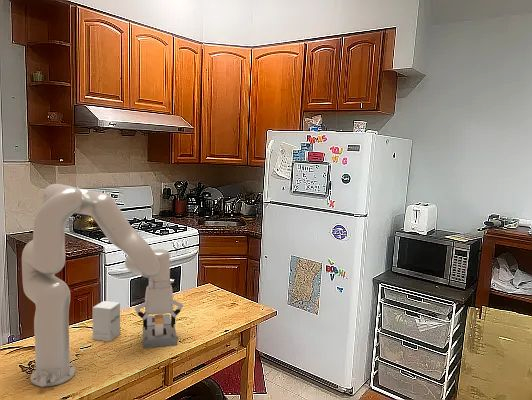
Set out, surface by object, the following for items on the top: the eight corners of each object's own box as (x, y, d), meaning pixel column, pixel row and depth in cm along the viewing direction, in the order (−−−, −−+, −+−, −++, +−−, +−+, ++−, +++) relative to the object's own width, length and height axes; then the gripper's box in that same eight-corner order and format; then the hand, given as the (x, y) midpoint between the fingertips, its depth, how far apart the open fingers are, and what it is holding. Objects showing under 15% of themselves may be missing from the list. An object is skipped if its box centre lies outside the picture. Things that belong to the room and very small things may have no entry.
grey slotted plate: (171, 328, 173) (171, 323, 173) (145, 330, 170) (145, 326, 170) (169, 318, 183) (169, 314, 182) (144, 320, 180) (144, 316, 179)
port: (176, 345, 159) (176, 337, 159) (142, 348, 156) (142, 340, 155) (174, 331, 170) (174, 324, 170) (142, 334, 167) (142, 326, 167)
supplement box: (110, 341, 160) (109, 309, 159) (92, 339, 162) (91, 306, 160) (121, 333, 167) (120, 302, 166) (103, 331, 169) (103, 300, 167)
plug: (163, 341, 162) (163, 318, 160) (154, 342, 161) (154, 319, 160) (162, 336, 165) (162, 314, 164) (154, 337, 165) (154, 314, 163)
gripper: (182, 278, 166) (181, 321, 168) (134, 281, 161) (135, 325, 164) (184, 284, 159) (183, 329, 161) (134, 287, 154) (135, 333, 156)
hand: (159, 327), depth 162 cm, fingers open, 9 cm apart
